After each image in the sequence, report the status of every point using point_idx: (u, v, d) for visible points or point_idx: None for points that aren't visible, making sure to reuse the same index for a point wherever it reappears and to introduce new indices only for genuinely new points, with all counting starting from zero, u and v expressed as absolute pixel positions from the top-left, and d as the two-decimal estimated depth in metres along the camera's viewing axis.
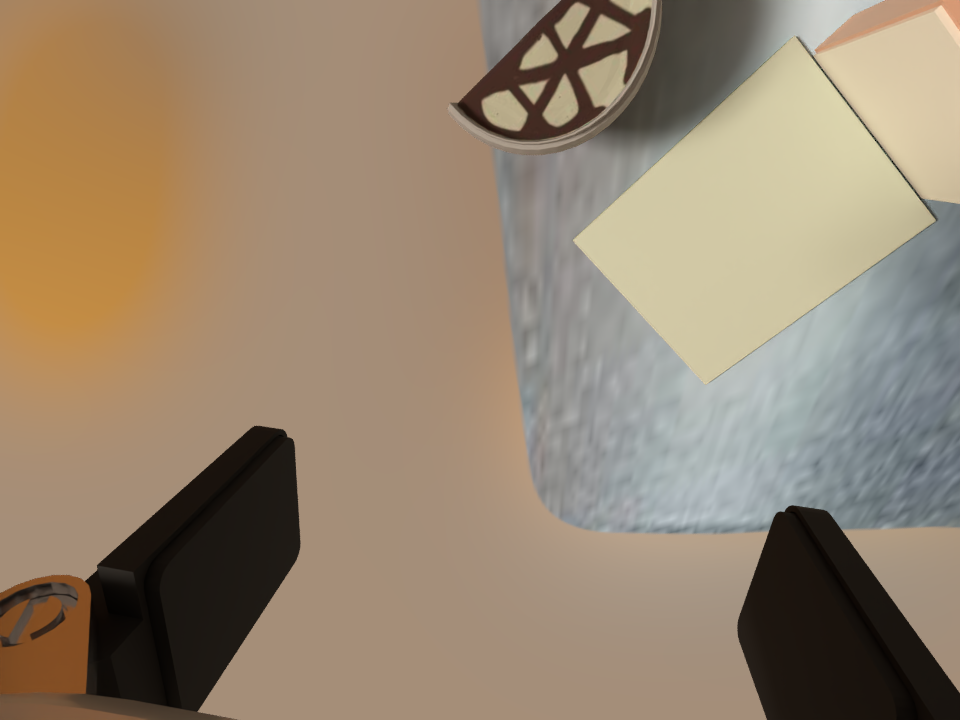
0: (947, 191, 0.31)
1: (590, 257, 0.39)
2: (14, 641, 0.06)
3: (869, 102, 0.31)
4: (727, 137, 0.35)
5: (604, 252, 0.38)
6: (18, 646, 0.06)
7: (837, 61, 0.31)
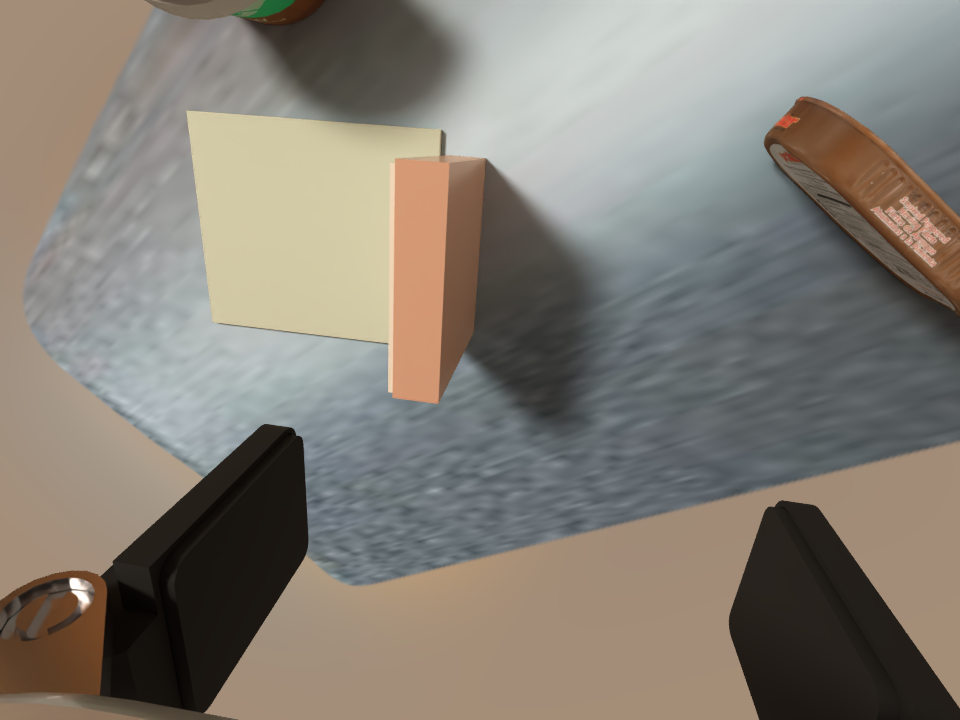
0: None
1: (191, 139, 0.37)
2: (32, 635, 0.06)
3: None
4: (350, 153, 0.36)
5: (204, 146, 0.37)
6: (36, 641, 0.06)
7: None
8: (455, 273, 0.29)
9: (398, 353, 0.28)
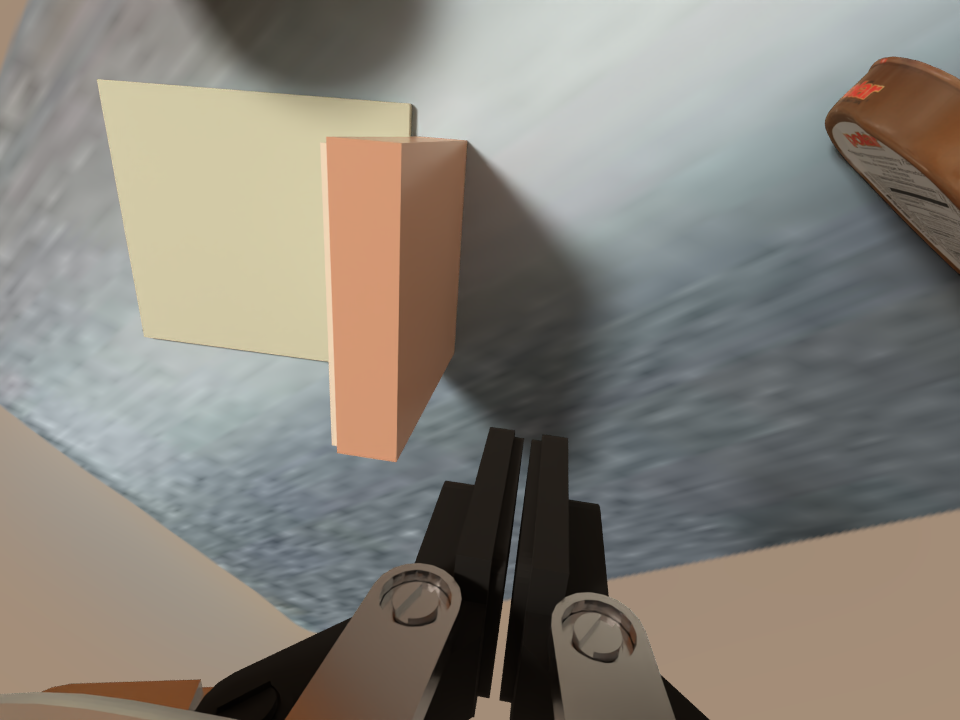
0: None
1: (105, 115, 0.30)
2: (397, 617, 0.07)
3: None
4: (298, 134, 0.29)
5: (122, 123, 0.30)
6: (396, 625, 0.07)
7: None
8: (420, 290, 0.22)
9: (342, 398, 0.21)
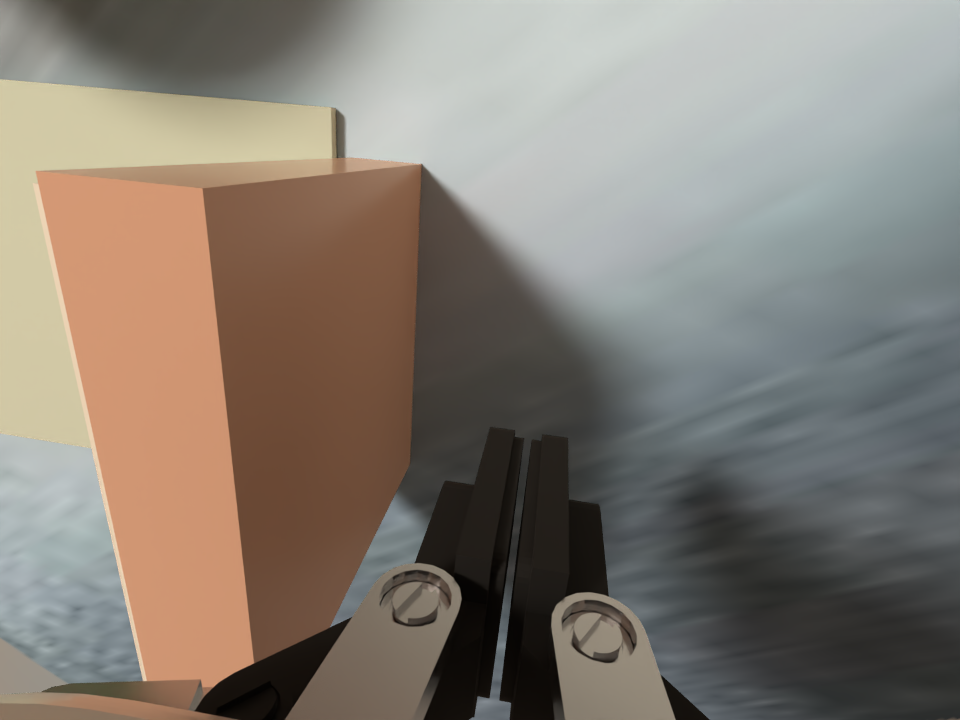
0: None
1: None
2: (397, 617, 0.07)
3: None
4: (168, 152, 0.19)
5: None
6: (397, 624, 0.07)
7: None
8: (314, 439, 0.12)
9: (153, 657, 0.11)
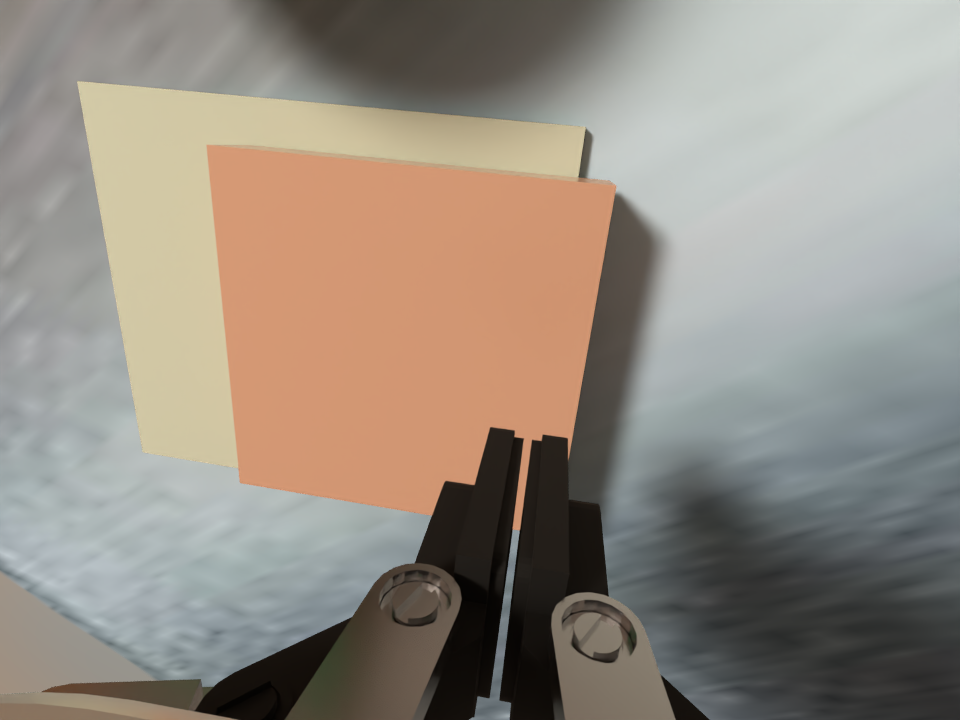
0: None
1: (89, 136, 0.19)
2: (397, 617, 0.07)
3: None
4: None
5: (115, 150, 0.19)
6: (397, 625, 0.07)
7: None
8: (310, 337, 0.18)
9: None
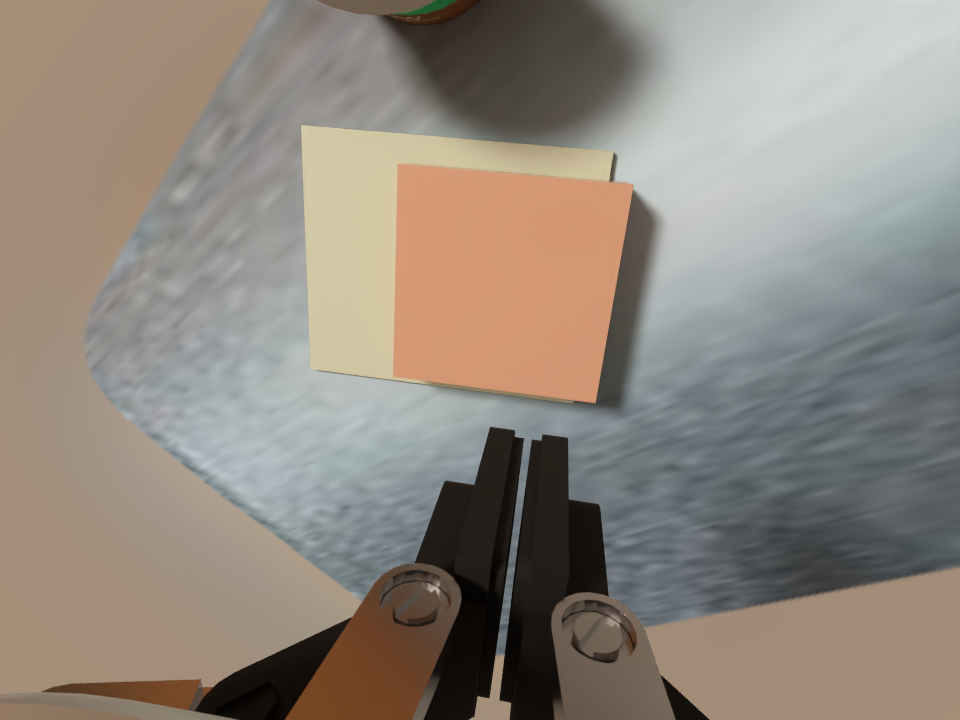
0: None
1: (304, 158, 0.31)
2: (397, 617, 0.07)
3: None
4: None
5: (320, 167, 0.31)
6: (397, 625, 0.07)
7: None
8: (449, 278, 0.29)
9: None
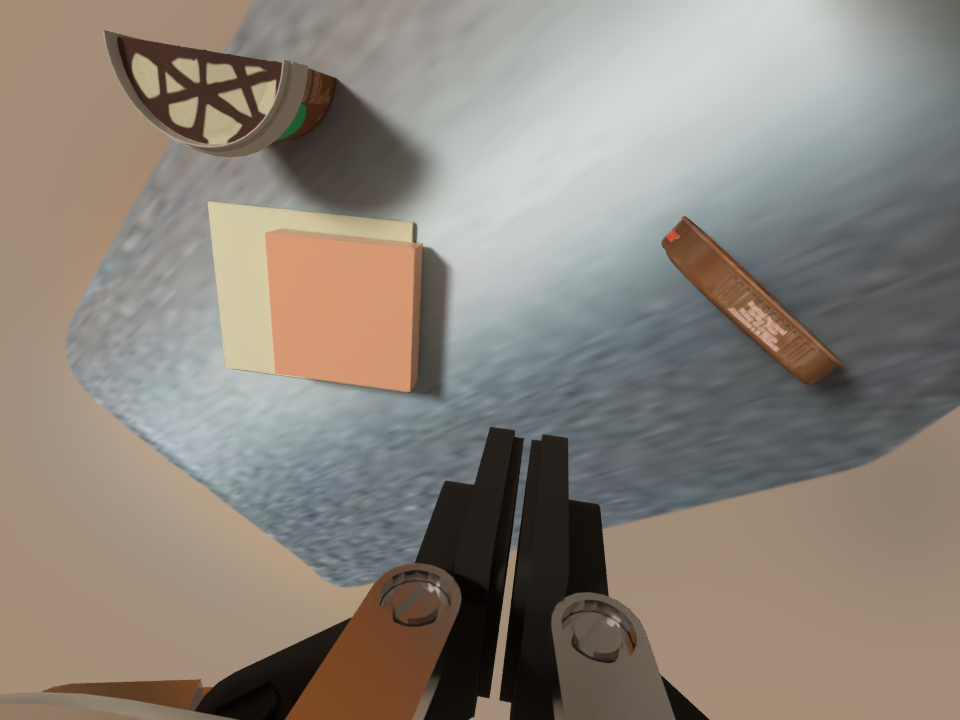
0: None
1: (211, 223, 0.45)
2: (397, 617, 0.07)
3: None
4: None
5: (222, 229, 0.45)
6: (397, 624, 0.07)
7: None
8: (305, 307, 0.44)
9: None
